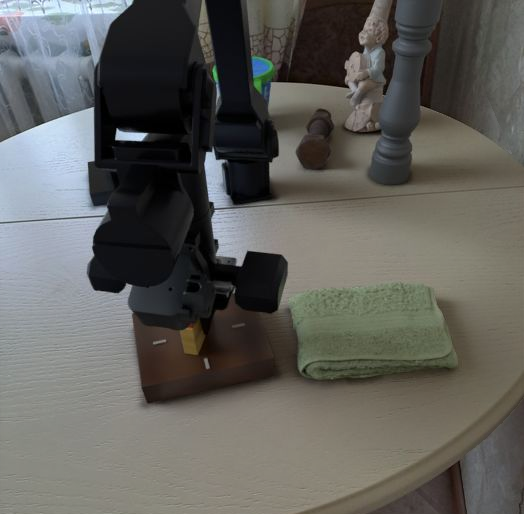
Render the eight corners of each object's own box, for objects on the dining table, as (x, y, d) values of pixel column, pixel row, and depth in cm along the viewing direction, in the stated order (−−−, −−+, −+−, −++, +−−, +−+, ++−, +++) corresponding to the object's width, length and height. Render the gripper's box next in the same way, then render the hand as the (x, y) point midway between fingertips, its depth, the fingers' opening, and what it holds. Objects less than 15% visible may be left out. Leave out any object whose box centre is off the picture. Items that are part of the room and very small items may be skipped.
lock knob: (201, 314, 57) (196, 286, 54) (213, 316, 57) (209, 288, 54) (184, 353, 53) (178, 326, 50) (198, 355, 53) (192, 328, 50)
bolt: (325, 136, 93) (315, 176, 83) (302, 121, 92) (290, 160, 82) (343, 109, 89) (335, 148, 79) (319, 93, 88) (309, 130, 78)
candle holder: (365, 180, 80) (391, -5, 61) (374, 161, 84) (402, -19, 65) (404, 187, 78) (443, -1, 59) (411, 168, 82) (451, -15, 63)
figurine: (373, 111, 96) (391, -15, 81) (398, 129, 91) (422, -1, 76) (333, 121, 94) (343, -6, 79) (356, 140, 89) (372, 8, 73)
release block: (162, 162, 85) (158, 140, 82) (170, 193, 79) (166, 170, 76) (91, 174, 84) (84, 151, 81) (93, 206, 77) (86, 183, 74)
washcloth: (461, 374, 54) (469, 355, 52) (299, 387, 54) (300, 368, 51) (425, 292, 63) (431, 272, 60) (286, 303, 62) (286, 283, 60)
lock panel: (250, 307, 62) (249, 288, 59) (274, 375, 55) (274, 356, 53) (137, 330, 60) (131, 312, 57) (147, 404, 53) (140, 386, 50)
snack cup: (212, 110, 98) (206, 53, 90) (264, 104, 99) (263, 47, 92) (225, 148, 88) (220, 88, 80) (283, 140, 89) (284, 80, 82)
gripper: (31, 254, 39) (89, 375, 51) (263, 282, 36) (267, 404, 48) (91, 179, 46) (130, 301, 58) (289, 198, 43) (287, 322, 55)
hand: (199, 331), depth 55 cm, fingers closed on lock knob, 2 cm apart
